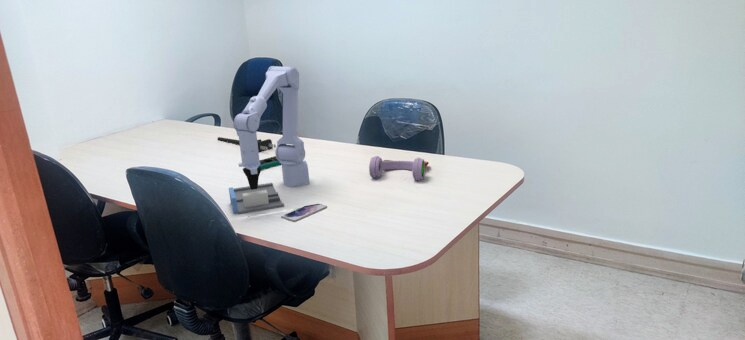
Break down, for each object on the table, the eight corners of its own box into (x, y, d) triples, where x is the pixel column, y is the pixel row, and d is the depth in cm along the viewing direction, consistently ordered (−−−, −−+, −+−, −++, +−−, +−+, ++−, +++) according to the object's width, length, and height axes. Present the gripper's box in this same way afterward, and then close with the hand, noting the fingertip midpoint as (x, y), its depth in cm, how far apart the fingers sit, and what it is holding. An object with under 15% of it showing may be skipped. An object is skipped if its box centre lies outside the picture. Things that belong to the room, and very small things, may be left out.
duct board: (272, 186, 204) (270, 170, 202) (284, 208, 182) (282, 191, 180) (227, 193, 199) (225, 177, 197) (234, 217, 177) (232, 199, 176)
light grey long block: (278, 198, 189) (277, 188, 188) (280, 201, 186) (279, 190, 185) (243, 204, 186) (242, 193, 184) (244, 207, 183) (243, 196, 182)
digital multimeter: (287, 164, 232) (287, 157, 231) (256, 172, 222) (255, 166, 222) (278, 161, 237) (277, 154, 236) (247, 169, 228) (247, 162, 227)
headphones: (368, 161, 203) (381, 141, 220) (370, 185, 207) (383, 163, 224) (420, 163, 197) (430, 142, 215) (421, 187, 202) (430, 165, 219)
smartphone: (279, 216, 175) (313, 202, 186) (280, 218, 176) (313, 204, 186) (294, 221, 171) (328, 206, 182) (294, 223, 171) (328, 208, 182)
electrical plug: (264, 154, 246) (262, 144, 244) (212, 145, 273) (210, 136, 271) (279, 150, 252) (277, 139, 251) (226, 141, 279) (225, 132, 277)
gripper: (234, 146, 185) (239, 183, 189) (239, 157, 172) (244, 197, 176) (255, 143, 187) (260, 180, 191) (262, 154, 174) (266, 194, 178)
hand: (254, 188), depth 184 cm, fingers closed
